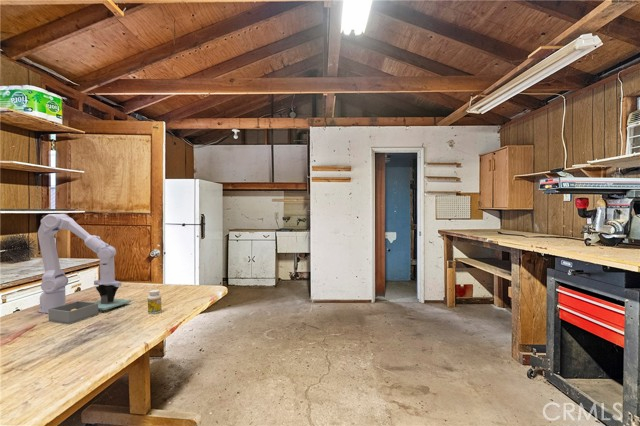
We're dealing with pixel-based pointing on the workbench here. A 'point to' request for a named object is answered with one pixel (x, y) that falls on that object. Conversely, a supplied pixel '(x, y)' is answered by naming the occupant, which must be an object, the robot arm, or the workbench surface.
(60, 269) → the robot arm
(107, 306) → the teal lid
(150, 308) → the supplement bottle
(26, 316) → the workbench surface
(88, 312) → the grey bin
